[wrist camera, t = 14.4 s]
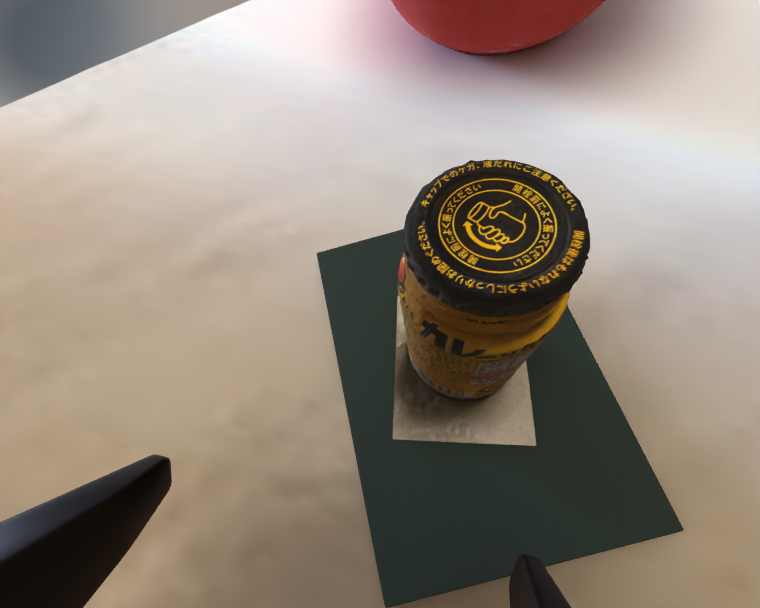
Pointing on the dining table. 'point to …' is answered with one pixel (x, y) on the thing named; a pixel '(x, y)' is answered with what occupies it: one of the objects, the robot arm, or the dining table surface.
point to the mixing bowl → (493, 22)
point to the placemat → (482, 453)
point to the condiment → (481, 299)
